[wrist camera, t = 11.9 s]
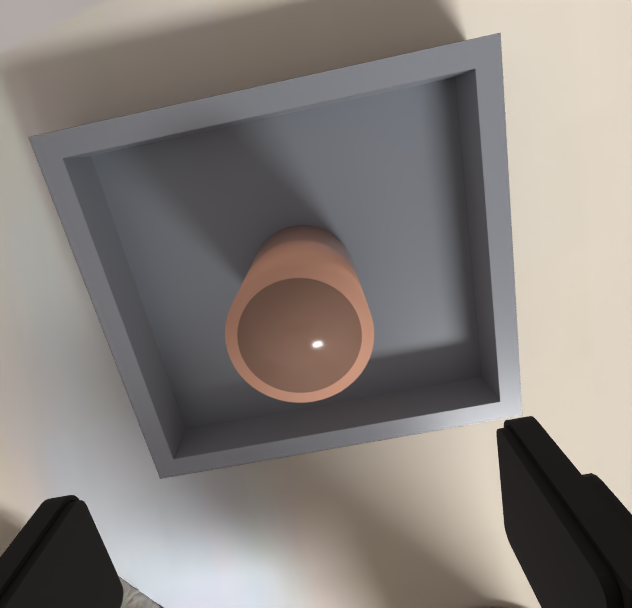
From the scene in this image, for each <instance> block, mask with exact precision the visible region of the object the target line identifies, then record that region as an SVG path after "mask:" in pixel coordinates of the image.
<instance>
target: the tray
mask: <svg viewBox="0 0 632 608" xmlns="http://www.w3.org/2000/svg"><path fill="white" fill-rule="evenodd" d="M29 140H30V142H31V145H32V148H33V150H34V153H35V155H36V158H37V161H38V163H39V166H40V168H41V171H42V174H43V176H44V179H45V181H46V184H47V187H48V189H49V192H50V194H51V197H52V200H53V202H54V205H55V207H56V210H57V212H58V215H59V218H60V220H61V223H62V225H63V228H64V231H65V233H66V236H67V238H68V241H69V244H70V246H71V249H72V251H73V254H74V257H75V259H76V262H77V264H78V267H79V269H80V272H81V275H82V277H83V280H84V282H85V285H86V288H87V290H88V293H89V295H90V298H91V301H92V303H93V306H94V308H95V311H96V314H97V316H98V319H99V321H100V324H101V326H102V329H103V332H104V334H105V337H106V339H107V342H108V345H109V347H110V350H111V352H112V355H113V358H114V360H115V363H116V365H117V368H118V371H119V373H120V376H121V378H122V381H123V383H124V386H125V389H126V391H127V394H128V396H129V399H130V402H131V404H132V407H133V409H134V412H135V415H136V417H137V420H138V422H139V425H140V428H141V430H142V433H143V435H144V438H145V440H146V443H147V446H148V448H149V451H150V453H151V456H152V459H153V461H154V464H155V466H156V469H157V472H158V474H159V477H160V479H161V478H167V477H173V476H179V475H184V474H190V473H196V472H202V471H207V470H213V469H219V468H225V467H230V466H236V465H242V464H247V463H253V462H259V461H265V460H270V459H276V458H282V457H288V456H293V455H299V454H305V453H311V452H316V451H322V450H328V449H334V448H339V447H345V446H351V445H357V444H362V443H368V442H374V441H380V440H385V439H391V438H397V437H403V436H408V435H414V434H420V433H426V432H431V431H437V430H443V429H449V428H454V427H460V426H466V425H472V424H477V423H483V422H489V421H495V420H500V419H506V418H512V417H518V416H522V401H521V383H520V366H519V348H518V331H517V314H516V296H515V279H514V261H513V244H512V226H511V209H510V191H509V174H508V156H507V139H506V121H505V104H504V86H503V69H502V51H501V34H500V33H497V34H493V35H488V36H483V37H479V38H474V39H470V40H465V41H461V42H456V43H452V44H447V45H443V46H438V47H434V48H429V49H425V50H420V51H416V52H411V53H407V54H402V55H397V56H393V57H388V58H384V59H379V60H375V61H370V62H366V63H361V64H357V65H352V66H348V67H343V68H339V69H334V70H330V71H325V72H321V73H316V74H311V75H307V76H302V77H298V78H293V79H289V80H284V81H280V82H275V83H271V84H266V85H262V86H257V87H253V88H248V89H244V90H239V91H235V92H230V93H225V94H221V95H216V96H212V97H207V98H203V99H198V100H194V101H189V102H185V103H180V104H176V105H171V106H167V107H162V108H158V109H153V110H149V111H144V112H139V113H135V114H130V115H126V116H121V117H117V118H112V119H108V120H103V121H99V122H94V123H90V124H85V125H81V126H76V127H72V128H67V129H63V130H58V131H53V132H49V133H44V134H40V135H35V136H31V137H29ZM297 225H309V226H315V227H319V228H322V229H324V230H326V231H328V232H330V233H332V234H333V235H334V236H336V237H337V238H338V239H339V240H340V241H341V242H342V243H343V244H344V246H345V247H346V248H347V250H348V252H349V254H350V256H351V258H352V261H353V264H354V267H355V270H356V273H357V275H358V278H359V281H360V284H361V287H362V290H363V293H364V296H365V298H366V301H367V304H368V307H369V310H370V313H371V316H372V320H373V325H374V344H373V349H372V353H371V356H370V359H369V361H368V363H367V365H366V367H365V368H364V370H363V371H362V373H361V374H360V375H359V376H358V378H357V379H356V380H355V381H354V382H353V383H352V384H350V385H349V386H348V387H347V388H345V389H344V390H342V391H341V392H339V393H337V394H335V395H333V396H331V397H328V398H325V399H322V400H318V401H313V402H303V403H296V402H287V401H282V400H278V399H275V398H272V397H269V396H267V395H265V394H263V393H261V392H259V391H258V390H256V389H255V388H253V387H252V386H251V385H250V384H248V383H247V382H246V381H245V380H244V379H243V378H242V377H241V375H240V374H239V373H238V371H237V370H236V369H235V367H234V365H233V363H232V361H231V360H230V357H229V354H228V351H227V347H226V342H225V325H226V320H227V316H228V313H229V310H230V307H231V305H232V303H233V301H234V299H235V297H236V295H237V293H238V291H239V289H240V287H241V285H242V283H243V281H244V279H245V277H246V275H247V273H248V270H249V268H250V266H251V264H252V262H253V260H254V258H255V256H256V254H257V252H258V250H259V249H260V247H261V246H262V244H263V243H264V242H265V241H266V240H267V239H268V238H269V237H270V236H272V235H273V234H274V233H276V232H278V231H280V230H282V229H284V228H287V227H291V226H297Z"/></svg>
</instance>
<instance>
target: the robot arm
mask: <svg viewBox="0 0 632 608" xmlns="http://www.w3.org/2000/svg"><path fill="white" fill-rule="evenodd" d="M497 446H498V457H499V469H500V480H501V492H502V503H503V515H504V525H505V531H506V534H507V538H508V540H509V543H510V545H511V547H512V549H513V551H514V553H515V555H516V557H517V559H518V561H519V563H520V565H521V567H522V569H523V571H524V573H525V575H526V577H527V579H528V581H529V583H530V585H531V587H532V589H533V591H534V593H535V595H536V597H537V599H538V601H539V603H540V605H541V607H542V608H632V514H631V513H630V512H629V511H628V510H627V509H626V507H625V506H624V505H623V504H622V503H621V502H620V501H619V499H618V498H617V497H616V496H615V495H614V494H613V493H612V491H611V490H610V489H609V488H608V487H607V486H606V485H605V483H604V482H603V481H602V480H601V479H600V478H599V477H598V476H596V475H594V474H592V473H590V474H584V475H581V473H580V472H579V471H578V470H577V468H576V467H575V466H574V465H573V464H572V462H571V461H570V460H569V459H568V458H567V456H566V455H565V454H564V453H563V451H562V450H561V449H560V448H559V447H558V445H557V444H556V443H555V442H554V441H553V439H552V438H551V437H550V436H549V434H548V433H547V432H546V431H545V430H544V428H543V427H542V426H541V425H540V424H539V422H538V421H537V420H536V419H535V418H534V417H532V416H529V417H523V418H517V419H511V420H506V421H505V422H504V428H500V429H497ZM122 602H123V586H122V583H121V581H120V579H119V577H118V575H117V572H116V570H115V568H114V566H113V563H112V561H111V559H110V557H109V554H108V552H107V550H106V548H105V545H104V543H103V541H102V539H101V536H100V534H99V532H98V530H97V528H96V525H95V523H94V521H93V519H92V516H91V514H90V512H89V510H88V507H87V505H86V504H85V502H84V501H82V500H79V499H78V497H76V496H75V495H68V496H62V497H56V498H51V499H47V500H45V501H44V502H43V503H42V504H41V505H40V506H39V508H38V509H37V510H36V512H35V513H34V514H33V516H32V517H31V518H30V519H29V521H28V522H27V523H26V525H25V526H24V527H23V529H22V530H21V531H20V532H19V534H18V535H17V536H16V538H15V539H14V540H13V541H12V543H11V544H10V545H9V547H8V548H7V549H6V551H5V552H4V553H3V554H2V556H1V557H0V608H120V607H121V605H122Z"/></svg>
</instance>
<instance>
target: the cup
mask: <svg viewBox="0 0 632 608" xmlns="http://www.w3.org/2000/svg"><path fill="white" fill-rule="evenodd" d="M225 342H226V347H227V351H228V354H229V357H230V360H231V361H232V363H233V365H234V367H235V369H236V370H237V371H238V373H239V374H240V375H241V377H242V378H243V379H244V380H245V381H246V382H247V383H248V384H250V385H251V386H252V387H253V388H255V389H256V390H258V391H259V392H261V393H263V394H265V395H267V396H269V397H272V398H275V399H278V400H282V401H287V402H296V403H303V402H313V401H318V400H322V399H325V398H328V397H331V396H333V395H335V394H337V393H339V392H341V391H342V390H344V389H345V388H347V387H348V386H349V385H350V384H352V383H353V382H354V381H355V380H356V379H357V378H358V376H359V375H360V374H361V373H362V371H363V370H364V368H365V367H366V365H367V363H368V361H369V359H370V356H371V353H372V349H373V344H374V325H373V320H372V316H371V313H370V310H369V307H368V304H367V301H366V298H365V296H364V293H363V290H362V287H361V284H360V281H359V278H358V275H357V273H356V270H355V267H354V264H353V261H352V258H351V256H350V254H349V252H348V250H347V248H346V247H345V246H344V244H343V243H342V242H341V241H340V240H339V239H338V238H337V237H336V236H334V235H333V234H332V233H330V232H328V231H326V230H324V229H322V228H319V227H315V226H309V225H297V226H291V227H287V228H284V229H282V230H280V231H278V232H276V233H274V234H273V235H272V236H270V237H269V238H268V239H267V240H266V241H265V242H264V243H263V244H262V246H261V247H260V249H259V250H258V252H257V254H256V256H255V258H254V260H253V262H252V264H251V266H250V268H249V270H248V273H247V275H246V277H245V279H244V281H243V283H242V285H241V287H240V289H239V291H238V293H237V295H236V297H235V299H234V301H233V303H232V305H231V307H230V310H229V313H228V316H227V320H226V325H225Z"/></svg>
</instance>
